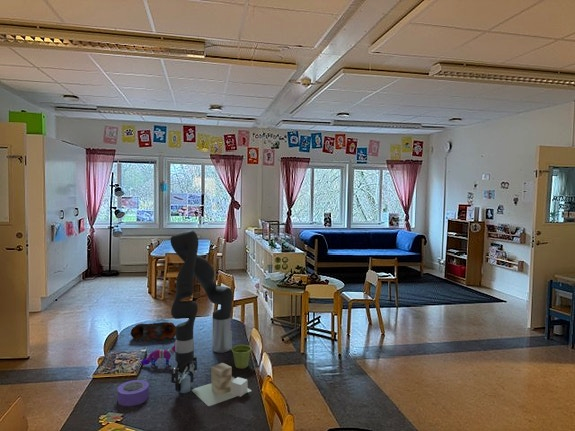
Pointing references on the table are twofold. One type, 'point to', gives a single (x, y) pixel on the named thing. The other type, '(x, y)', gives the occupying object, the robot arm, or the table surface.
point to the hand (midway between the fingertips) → (184, 386)
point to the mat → (212, 394)
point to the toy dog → (159, 356)
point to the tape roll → (133, 392)
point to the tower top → (221, 373)
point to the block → (239, 386)
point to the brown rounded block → (153, 331)
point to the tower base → (221, 387)
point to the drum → (185, 384)
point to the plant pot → (241, 355)
